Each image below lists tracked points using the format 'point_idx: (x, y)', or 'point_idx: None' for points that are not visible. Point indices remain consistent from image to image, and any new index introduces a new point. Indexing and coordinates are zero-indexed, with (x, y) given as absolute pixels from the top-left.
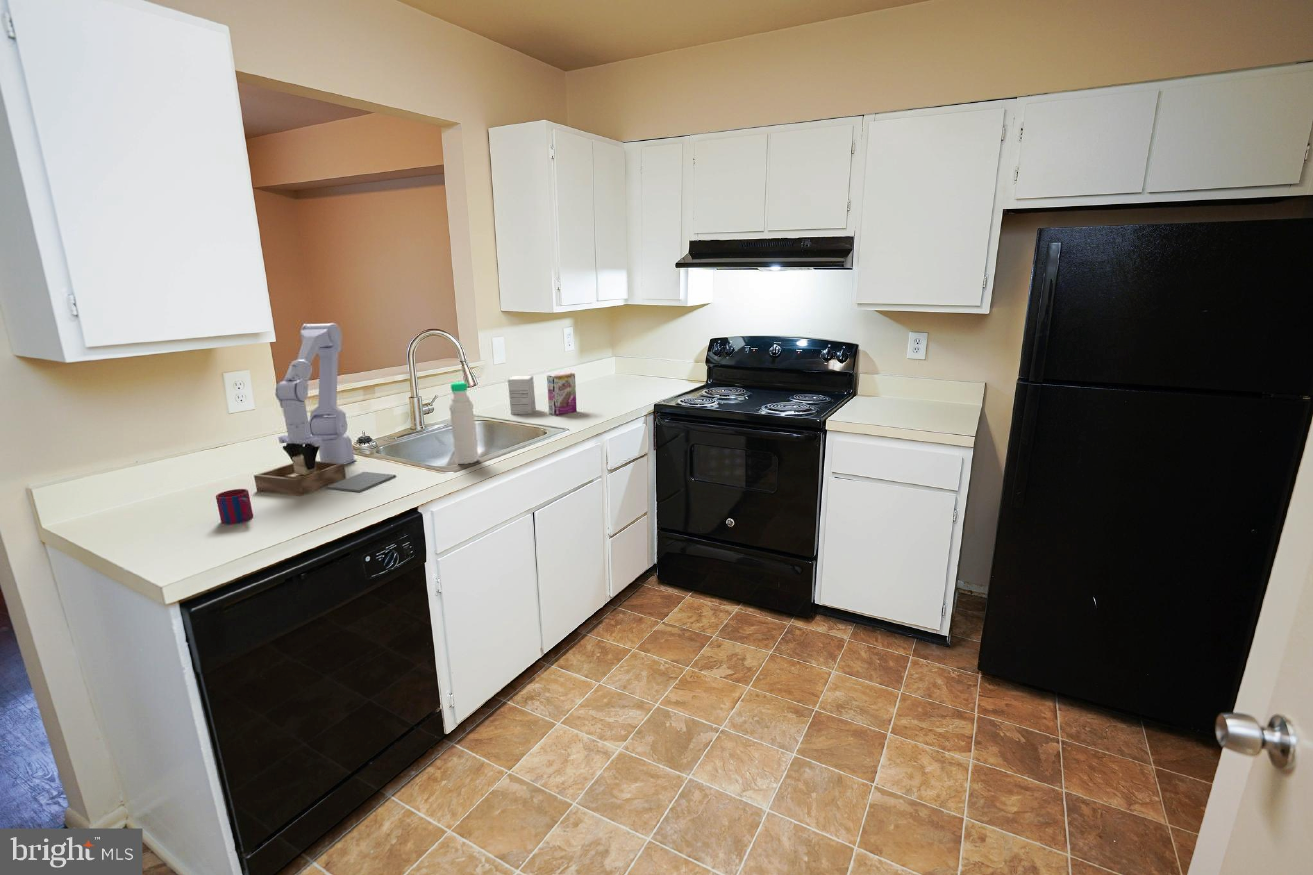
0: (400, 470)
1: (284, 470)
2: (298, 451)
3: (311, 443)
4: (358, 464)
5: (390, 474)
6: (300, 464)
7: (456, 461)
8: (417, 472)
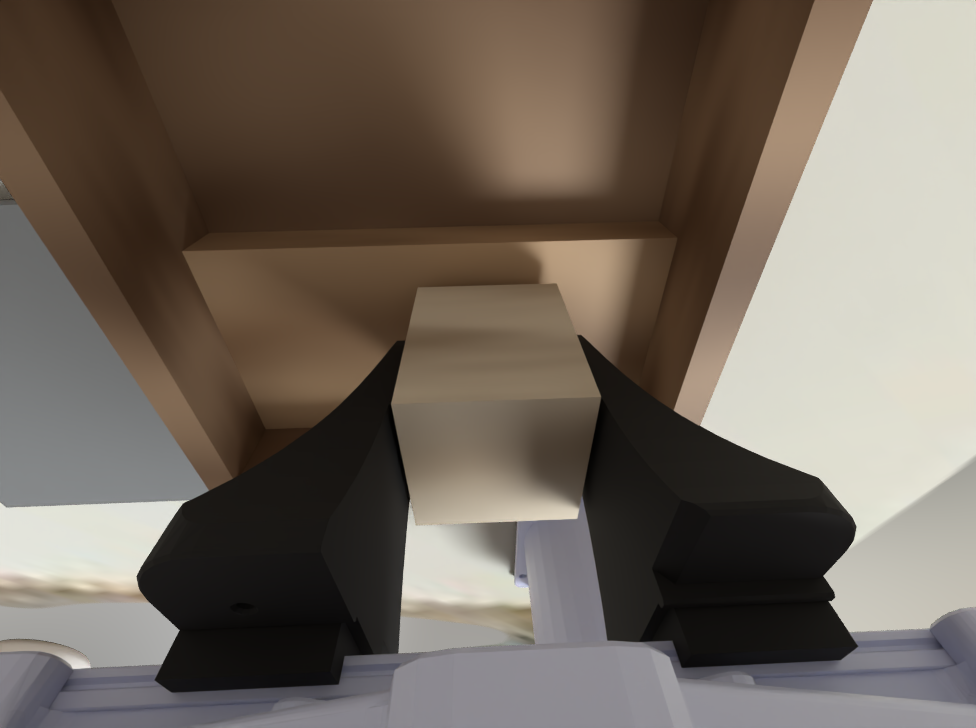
0: (143, 552)
1: (691, 280)
2: (603, 519)
3: (182, 708)
4: (455, 554)
5: (44, 504)
6: (456, 343)
7: (26, 649)
8: (24, 555)
